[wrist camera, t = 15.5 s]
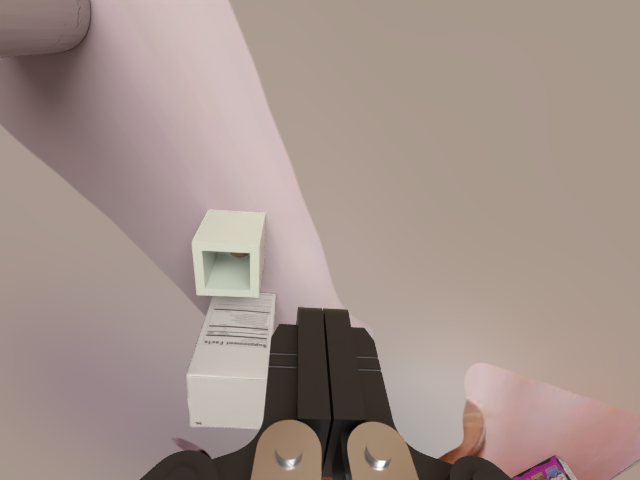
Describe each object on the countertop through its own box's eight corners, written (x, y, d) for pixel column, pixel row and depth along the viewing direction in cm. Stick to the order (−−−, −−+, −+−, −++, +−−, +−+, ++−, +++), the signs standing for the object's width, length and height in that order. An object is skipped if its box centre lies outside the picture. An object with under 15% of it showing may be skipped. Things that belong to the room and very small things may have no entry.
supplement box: (273, 338, 56) (265, 432, 43) (214, 334, 55) (187, 429, 42) (278, 292, 51) (270, 381, 38) (213, 287, 50) (183, 376, 37)
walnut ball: (221, 251, 45) (230, 261, 42) (226, 228, 44) (235, 237, 42) (243, 252, 47) (252, 262, 44) (248, 230, 46) (258, 239, 43)
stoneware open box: (211, 256, 48) (196, 295, 41) (208, 209, 44) (191, 242, 37) (264, 259, 48) (258, 297, 41) (265, 212, 45) (259, 245, 38)
